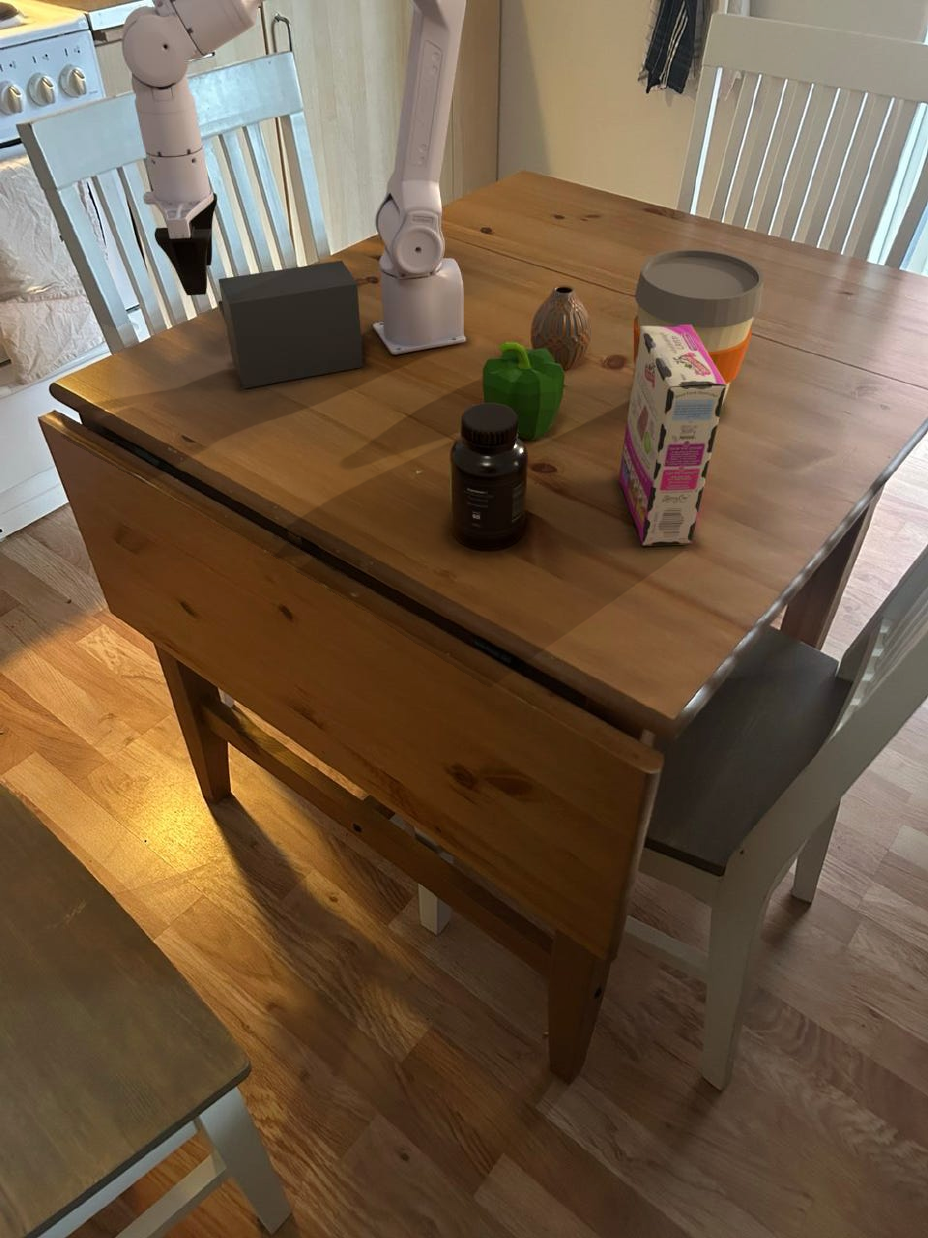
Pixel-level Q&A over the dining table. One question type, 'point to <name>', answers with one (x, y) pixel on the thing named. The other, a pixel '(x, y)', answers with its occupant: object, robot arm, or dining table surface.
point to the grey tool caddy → (292, 323)
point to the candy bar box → (669, 433)
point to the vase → (562, 327)
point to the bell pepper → (525, 387)
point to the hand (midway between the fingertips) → (199, 278)
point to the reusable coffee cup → (702, 301)
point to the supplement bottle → (488, 478)
